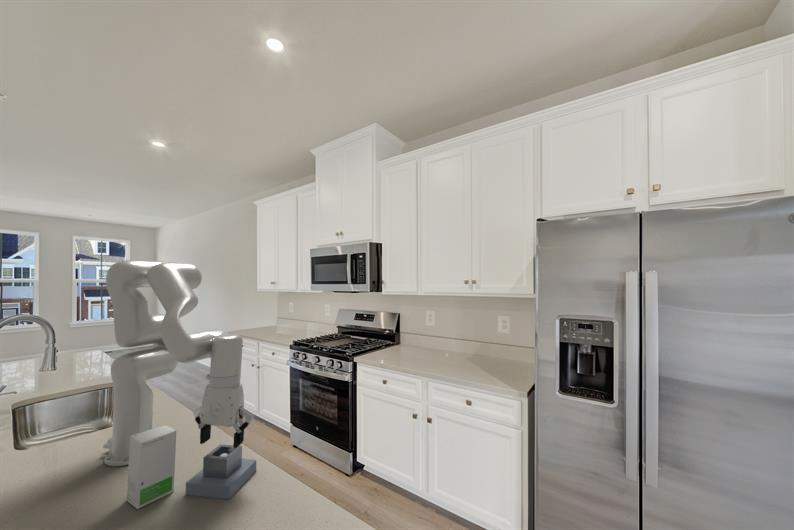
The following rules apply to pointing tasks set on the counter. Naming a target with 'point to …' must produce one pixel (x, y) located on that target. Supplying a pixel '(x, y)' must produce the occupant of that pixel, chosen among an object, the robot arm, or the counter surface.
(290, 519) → the counter surface
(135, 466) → the skincare box
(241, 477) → the shaft block
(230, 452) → the grey open box
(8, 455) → the counter surface
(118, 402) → the robot arm
